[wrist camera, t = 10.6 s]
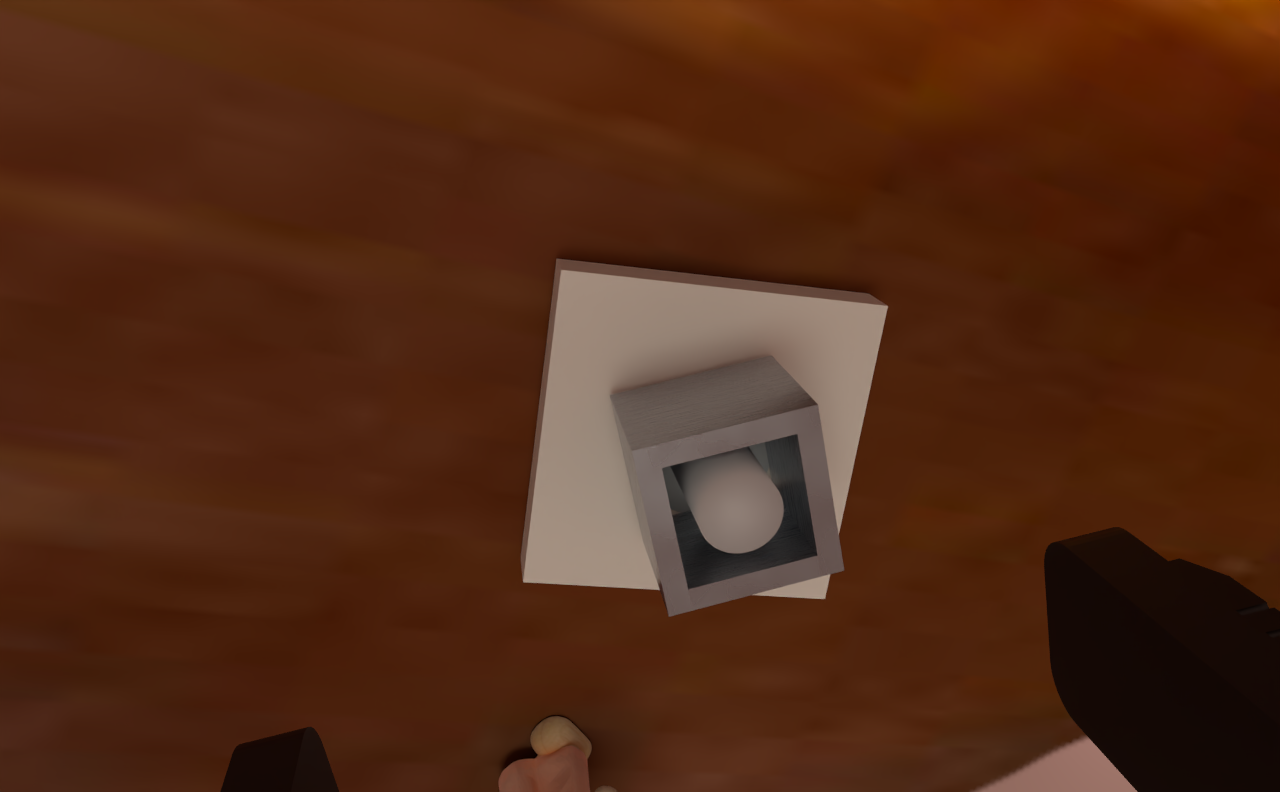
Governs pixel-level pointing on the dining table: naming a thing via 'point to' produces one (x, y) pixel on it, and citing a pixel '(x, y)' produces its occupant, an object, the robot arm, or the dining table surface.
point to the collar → (716, 423)
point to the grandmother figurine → (552, 761)
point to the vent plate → (665, 350)
